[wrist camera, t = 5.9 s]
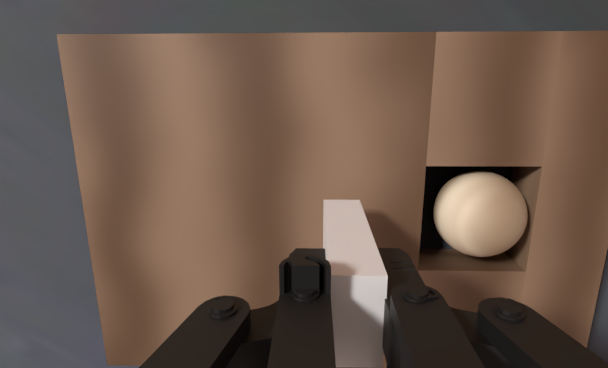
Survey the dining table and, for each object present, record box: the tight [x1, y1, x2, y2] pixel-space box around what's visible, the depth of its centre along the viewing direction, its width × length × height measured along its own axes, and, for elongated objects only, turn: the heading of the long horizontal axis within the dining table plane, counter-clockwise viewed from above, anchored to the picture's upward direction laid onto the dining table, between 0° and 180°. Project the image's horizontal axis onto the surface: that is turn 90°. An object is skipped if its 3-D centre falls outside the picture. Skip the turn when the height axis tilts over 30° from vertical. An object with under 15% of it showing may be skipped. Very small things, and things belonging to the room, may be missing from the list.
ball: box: [433, 171, 528, 257], centre depth 18 cm, size 4×4×4 cm
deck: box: [57, 31, 608, 368], centre depth 19 cm, size 24×16×2 cm, turn 90°
